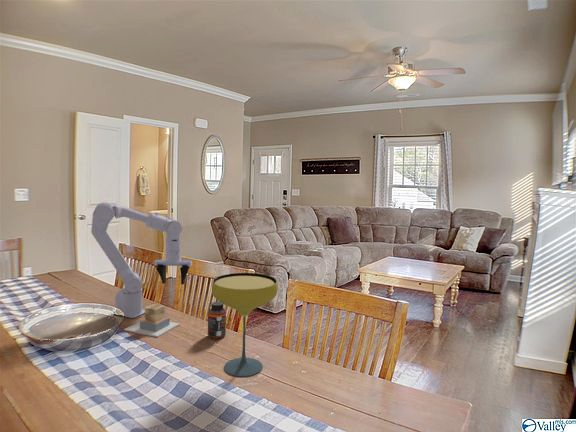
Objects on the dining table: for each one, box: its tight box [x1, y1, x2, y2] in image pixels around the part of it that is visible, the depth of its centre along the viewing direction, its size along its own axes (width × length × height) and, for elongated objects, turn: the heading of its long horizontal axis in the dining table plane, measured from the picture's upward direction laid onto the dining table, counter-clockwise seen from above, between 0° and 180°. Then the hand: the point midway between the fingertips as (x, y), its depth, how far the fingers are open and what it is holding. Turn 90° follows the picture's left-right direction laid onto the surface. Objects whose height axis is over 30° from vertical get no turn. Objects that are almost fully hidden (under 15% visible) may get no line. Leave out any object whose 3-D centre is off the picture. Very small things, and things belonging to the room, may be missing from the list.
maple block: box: [144, 303, 165, 323], centre depth 133 cm, size 4×4×4 cm
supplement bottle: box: [207, 301, 227, 340], centre depth 128 cm, size 6×6×11 cm
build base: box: [123, 316, 181, 338], centre depth 134 cm, size 14×12×3 cm
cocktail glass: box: [211, 272, 279, 378], centre depth 107 cm, size 18×18×25 cm
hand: (173, 283), depth 153 cm, fingers open, 7 cm apart
